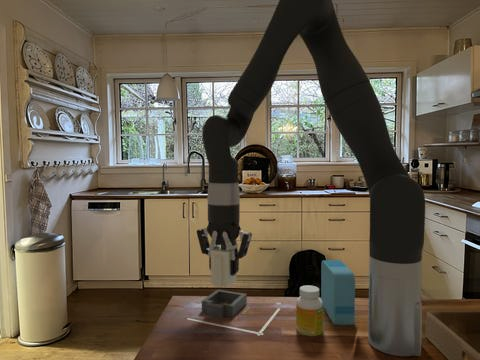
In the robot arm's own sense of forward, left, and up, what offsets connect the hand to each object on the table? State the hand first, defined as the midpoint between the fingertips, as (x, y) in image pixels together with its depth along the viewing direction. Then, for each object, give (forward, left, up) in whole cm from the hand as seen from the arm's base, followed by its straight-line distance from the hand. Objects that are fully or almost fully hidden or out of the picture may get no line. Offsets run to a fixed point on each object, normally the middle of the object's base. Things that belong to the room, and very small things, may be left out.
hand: (223, 272), depth 83 cm
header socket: (-1, +1, -8) cm, 8 cm away
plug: (0, 0, -2) cm, 2 cm away
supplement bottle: (-21, +3, -10) cm, 24 cm away
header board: (-4, +2, -9) cm, 11 cm away
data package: (-25, -8, -10) cm, 28 cm away
